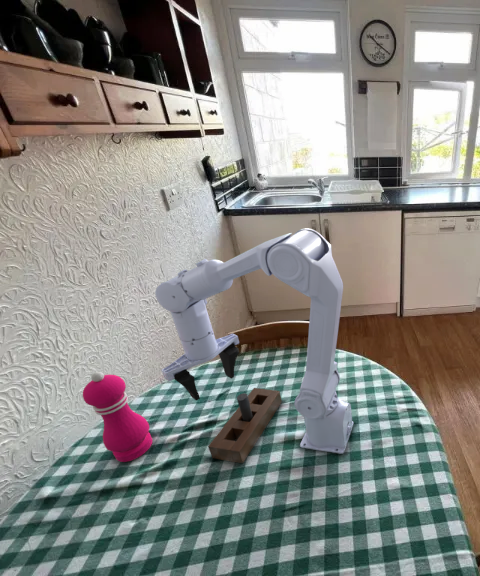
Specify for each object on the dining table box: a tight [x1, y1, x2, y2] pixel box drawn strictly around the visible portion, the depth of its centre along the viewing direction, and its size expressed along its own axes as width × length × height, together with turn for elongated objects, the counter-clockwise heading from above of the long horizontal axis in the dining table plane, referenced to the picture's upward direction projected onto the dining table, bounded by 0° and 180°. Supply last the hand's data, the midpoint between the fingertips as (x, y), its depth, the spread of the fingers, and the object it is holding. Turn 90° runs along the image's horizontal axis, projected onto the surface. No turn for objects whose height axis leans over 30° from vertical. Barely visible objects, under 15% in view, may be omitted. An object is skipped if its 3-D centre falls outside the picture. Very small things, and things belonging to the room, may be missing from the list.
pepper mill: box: [82, 371, 153, 463], centre depth 61 cm, size 7×7×20 cm
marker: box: [236, 392, 253, 422], centre depth 67 cm, size 2×2×9 cm
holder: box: [207, 387, 283, 464], centre depth 69 cm, size 7×16×4 cm, turn 170°
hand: (213, 386), depth 67 cm, fingers open, 7 cm apart
